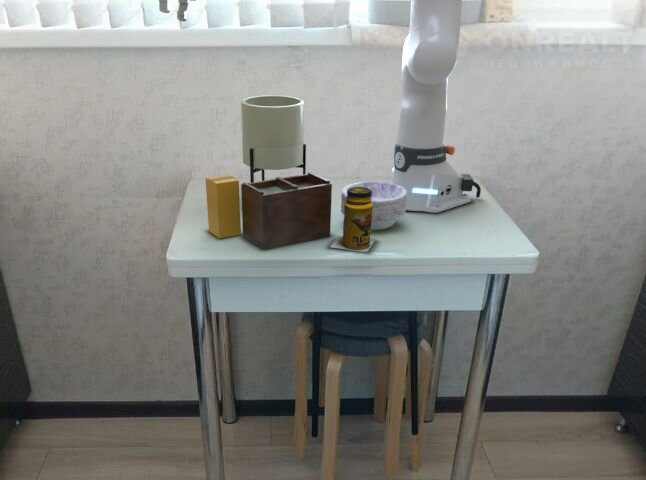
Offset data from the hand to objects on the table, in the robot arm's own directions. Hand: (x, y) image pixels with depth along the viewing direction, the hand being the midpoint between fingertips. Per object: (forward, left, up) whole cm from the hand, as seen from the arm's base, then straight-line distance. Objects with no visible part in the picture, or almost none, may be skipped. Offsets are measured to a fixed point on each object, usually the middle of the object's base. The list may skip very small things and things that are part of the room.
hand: (173, 16), depth 150 cm
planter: (-22, +4, -41) cm, 47 cm away
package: (+1, +21, -41) cm, 46 cm away
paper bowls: (-32, +33, -41) cm, 62 cm away
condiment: (-20, +42, -41) cm, 62 cm away
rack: (-10, +30, -41) cm, 52 cm away
